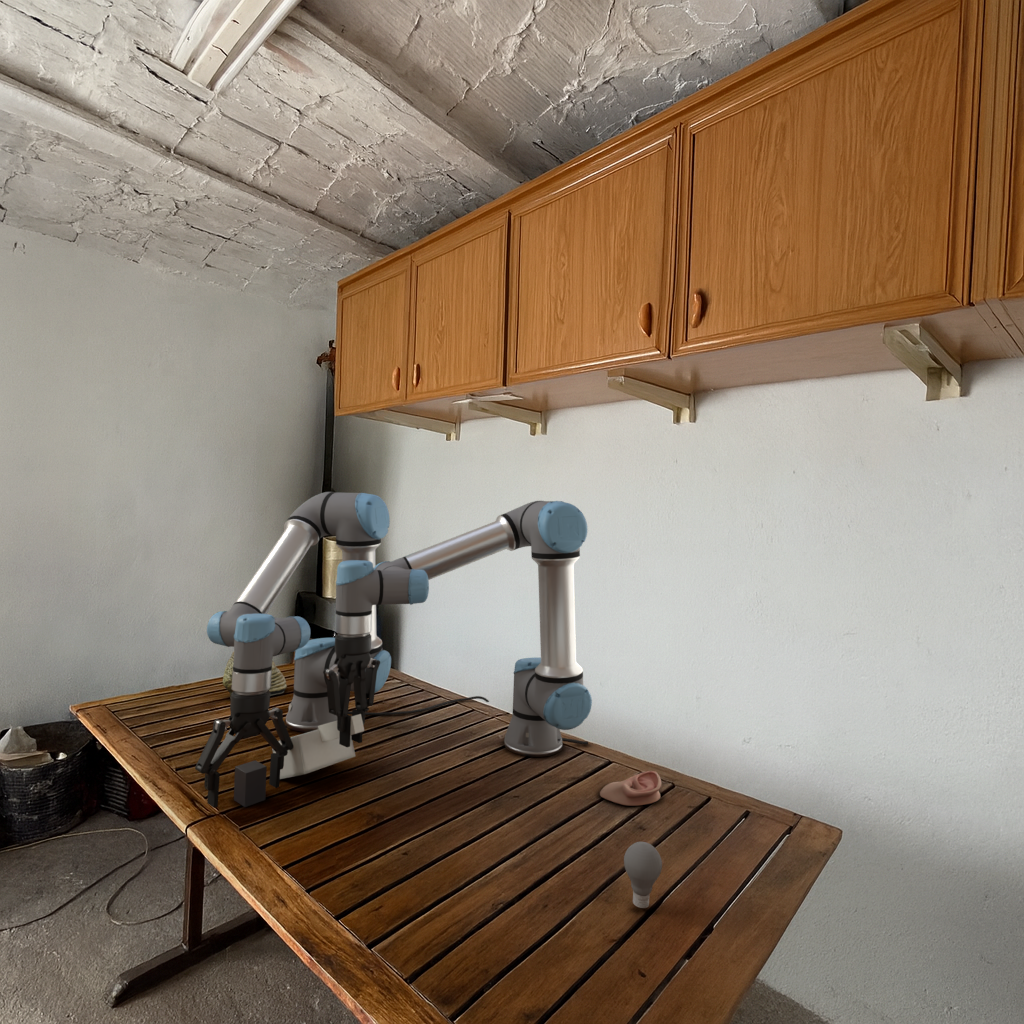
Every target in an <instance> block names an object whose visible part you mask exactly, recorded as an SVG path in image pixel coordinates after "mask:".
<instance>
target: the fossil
mask: <svg viewBox="0 0 1024 1024" xmlns="http://www.w3.org/2000/svg"><path fill="white" fill-rule="evenodd" d="M233 663H234V651H232V653H231V656H230V657H229V659H228V660H227V663H226V666H225V668H224V671H223V675H222V676H223V677H222V685H223V687H224V688H225V690H226V691H228V693H229V698H230V699H231V693H232V692H233V690H232V674H233ZM287 687H288V686H287V680H286V678H285V676H284V674H283V673H282V672H281V669H279V668H278V667H277V665H276V663H275V662H274V660H273V659H272V674H271V688H270V689H268V690H269V691H270V697H271V696H275V695H281V694H284V693H285V691H286V689H287Z"/></svg>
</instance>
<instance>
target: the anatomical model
mask: <svg viewBox="0 0 1024 1024" xmlns="http://www.w3.org/2000/svg"><path fill="white" fill-rule="evenodd" d="M661 788H662V779H661V777H660V774H658V772H657V771H655V770H647V771H642V772H640V773H637V774H634V775H633V776H630V777H628V778H626V779H624V780H621V781H613V782H609V783H607V784H606V785H605V786H603V788H602V789H601V790H600V791H599V796H600V797H601V798H603V799H604V800H607V801H610V802H613V803H615V804H617V805H618V804H619V805H622V806H643V805H650V804H653V803H655V802H658V801H659V800H660V799H661V793H660V789H661Z"/></svg>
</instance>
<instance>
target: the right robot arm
mask: <svg viewBox="0 0 1024 1024" xmlns="http://www.w3.org/2000/svg"><path fill="white" fill-rule="evenodd" d="M586 519H587V518H586V516H585V514H584V513H583V512H582V510H580V509H579V508H578V507H577V506H576V505H574V504H572V503H570V502H565V501H563V500H534V501H531V502H527V503H525V504H523V505H520V506H519V507H516V508H514V509H511V510H509V511H507V512H504V513H502V514H499V515H497V517H496V518H495V521H493V522H489V523H488V524H485V525H482V526H479V527H477V528H475V529H472V530H469V531H466V532H464V533H461V534H459V535H456V536H454V537H451V538H449V539H446V540H443V541H441V542H437V543H435V544H433V545H430V546H427V547H425V548H423V549H420V550H417V551H415V552H412V553H409V554H407V555H404V556H402V557H399V558H396V559H394V560H392V561H390V560H387V561H382V562H379V563H377V564H375V565H376V566H375V567H374V568H373V563H372V562H370V561H364V560H348V561H343V562H342V561H341V562H338V563H339V564H338V565H337V570H336V581H335V625H334V626H335V627H334V629H335V630H334V631H335V633H336V634H335V636H334V638H335V652H336V659H335V661H334V665H333V666H332V667H331V668H330V669H324V671H323V674H324V676H325V678H326V682H327V695H328V707H329V713H331V714H333V715H336V716H337V729H338V731H340V735H339V744H340V745H343V746H345V747H350V729H351V716H355V715H359V714H361V717H362V721H363V726H364V725H365V724H366V715H365V712H369V711H370V708H369V707H372V706H373V705H374V703H375V702H374V701H375V694H376V693H375V685H376V677H377V670H378V668H379V665H380V661H379V660H376V659H372V658H371V656H370V654H369V652H370V651H371V635H370V634H369V633H370V632H371V631H372V605H376V606H381V605H383V606H384V605H386V606H387V605H410V606H412V605H414V604H415V605H416V604H423V603H425V602H426V601H427V599H428V597H429V593H430V580H433V579H435V578H437V577H440V576H442V575H445V574H448V573H450V572H453V571H455V570H458V569H460V568H462V567H465V566H467V565H470V564H473V563H475V562H477V561H480V560H482V559H484V558H487V557H490V556H493V555H495V554H497V553H499V552H503V551H505V550H508V551H510V552H513V551H515V550H518V549H523V548H525V547H526V548H527V547H530V553H531V554H530V555H531V560H532V561H534V562H535V564H537V574H538V575H537V577H538V578H537V579H538V607H539V641H540V657H525V658H524V657H523V658H520V659H518V660H516V662H515V663H514V668H513V669H514V670H513V689H512V690H513V693H512V715H511V718H510V721H509V724H508V726H507V729H506V732H505V735H504V741H503V744H504V747H505V749H507V750H508V751H509V752H511V753H512V754H516V755H519V756H523V757H529V758H544V757H550V756H555V755H556V754H558V753H560V752H562V750H563V742H565V743H573V744H576V745H584V746H588V745H589V741H587V740H586V741H584V740H578V739H573V738H568V737H567V738H566V737H562V733H561V730H562V731H569V730H573V729H575V728H577V727H579V726H580V725H582V724H583V722H584V721H585V720H586V719H587V718H588V716H589V715H590V713H591V710H592V705H593V699H592V695H591V692H590V690H589V689H588V687H586V685H584V669H583V667H582V666H581V665H580V664H579V663H578V662H577V639H576V637H577V636H576V602H575V601H576V599H575V596H576V595H575V569H574V568H575V564H576V562H577V561H578V560H579V559H580V558H581V547H582V546H583V543H585V541H586V539H587V537H588V531H589V530H588V529H589V528H588V522H587V520H586ZM365 669H366V672H365ZM337 671H338V672H339V682H340V684H338V678H337V677H338V673H337ZM352 683H353V684H354V692H353V694H354V709H352V710H351V712H352V714H348V711H349V707H350V699H351V692H352V691H351V684H352ZM351 736H352V738H351V740H352V741H354V742H355V743H358V744H362V743H363V732H360V733H357V734H353V735H351Z"/></svg>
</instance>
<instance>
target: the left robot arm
mask: <svg viewBox="0 0 1024 1024" xmlns="http://www.w3.org/2000/svg"><path fill="white" fill-rule="evenodd" d="M390 522H391V521H390V513H389V509H388V506H387V504H386V502H385V500H384V499H383V498H382V497H381V496H379V495H377V494H372V493H366V492H336V491H325V492H322V493H318V494H316V495H314V496H312V497H310V498H309V499H307V500H306V501H304V502H303V503H302V504H301V505H299V506H298V507H297V508H296V509H295V510H294V511H293V512H292V513H291V514H290V516H289V517H288V518H287V520H286V521H285V522H284V524H283V530H284V531H283V532H282V533H281V535H280V537H279V538H278V539H277V541H276V542H275V544H274V545H273V546H272V548H271V550H270V551H269V552H268V554H267V555H266V557H265V558H264V560H263V561H262V562H261V564H260V565H259V567H258V568H257V570H256V571H255V573H253V575H252V577H251V578H250V579H249V581H248V582H247V584H246V585H245V587H244V589H243V590H242V591H241V593H240V594H239V595H238V597H237V599H236V600H235V601H234V603H233V604H232V605H231V607H230V609H229V610H228V611H227V610H224V611H217V612H216V613H214V614H213V615H212V616H210V618H209V620H208V623H207V625H206V634H207V637H208V639H209V641H210V642H212V643H213V644H215V645H219V646H224V647H226V648H227V647H228V648H231V647H233V652H234V663H233V674H232V690H233V692H232V693H231V698H230V704H229V707H230V708H229V710H230V715H229V717H228V719H223V720H221V719H219V718H216V719H215V720H214V721H213V725H212V731H211V733H210V735H209V738H208V740H207V741H206V744H205V745H204V747H203V749H202V751H201V754H200V756H199V758H198V760H197V762H196V764H195V767H194V769H195V770H196V771H197V772H199V773H200V774H201V775H204V783H203V787H204V789H205V790H207V805H209V806H211V808H214V809H215V808H217V807H219V793H220V792H219V790H220V776H221V773H220V772H218V770H219V768H220V767H221V766H222V764H223V763H224V761H225V760H226V758H227V757H228V756H229V754H230V752H231V751H232V750H233V748H234V747H235V746H236V745H237V744H239V743H240V741H241V740H242V739H248V738H250V737H256V736H259V735H260V736H261V737H262V738H263V740H264V741H266V743H267V744H268V745H269V746H270V747H271V749H272V748H273V750H274V751H275V752H276V753H273V752H272V753H270V765H269V766H270V767H269V782H268V784H269V785H270V786H272V787H273V788H275V789H277V788H280V781H281V779H280V770H281V769H283V767H284V756H286V755H287V754H288V750H292V749H293V743H292V741H291V736H290V734H289V731H288V729H289V730H291V731H294V732H295V731H296V732H301V733H307V732H311V731H314V730H318V726H320V725H323V724H327V723H330V722H334V721H337V716H336V715H333V714H331V713H329V707H328V695H327V682H326V678H325V676H324V674H323V671H324V669H330V668H331V667H332V666H333V665H334V661H335V659H336V652H335V637H320V638H319V637H318V638H313V639H311V627H310V625H309V623H308V621H307V620H306V619H305V618H304V617H301V616H298V615H297V616H295V615H294V616H290V615H289V616H286V617H275V616H273V615H272V614H269V611H270V609H271V608H272V607H273V605H274V604H275V602H276V600H278V597H279V596H280V594H281V592H283V589H284V588H285V586H286V585H287V583H288V582H289V580H290V579H291V577H292V575H293V574H294V572H295V571H296V570H297V568H298V566H299V565H300V563H301V561H302V560H303V558H304V557H305V556H306V554H307V552H308V551H309V549H310V548H311V547H313V546H316V545H317V544H318V543H319V542H320V540H321V539H322V538H323V537H326V536H333V537H335V545H336V547H337V548H339V550H341V562H343V561H348V560H364V561H370V562H372V563H373V568H374V567H375V566H376V565H377V564H376V550H377V549H378V548H379V547H380V546H381V544H382V539H384V538H385V537H386V536H387V534H388V532H389V528H390ZM369 634H370V635H371V651H370V652H369V654H370V656H371V658H372V659H376V660H379V661H380V665H379V668H378V670H377V677H376V685H375V694H376V693H378V692H379V691H380V690H381V689H382V688H383V687H384V685H385V684H386V682H387V680H388V678H389V676H390V672H391V666H392V656H391V654H390V652H389V651H387V650H385V649H383V640H382V639H381V638H380V637H379V636H378V635H377V605H372V631H371V632H370V633H369ZM293 652H294V653H295V654H294V659H293V660H294V672H293V695H292V696H293V697H292V699H291V702H289V705H288V711H287V713H286V715H285V721H284V713H283V711H284V710H283V709H281V708H278V707H276V706H273V707H272V708H271V710H269V708H270V705H271V704H270V703H271V696H270V691H269V690H268V689H270V688H271V674H272V660H273V657H276V656H281V655H284V654H288V653H293ZM365 672H366V669H365ZM337 673H338V677H337V678H338V684H340V682H339V672H338V671H337ZM350 692H351V693H354V684H353V683H352V684H351V691H350ZM477 699H478V700H483V701H484V702H486V703H490V700H489V699H487V698H486V697H484V696H481V695H476V696H470V697H463V698H462V697H461V698H456V699H452V700H447V701H444V702H441V703H437V704H434V705H430V706H428V707H424V708H419V709H413V710H404V711H389V712H370V711H367V712H365V716H394V715H396V716H397V715H408V714H415V713H420V712H426V711H430V710H433V709H435V708H440V707H442V706H446V705H450V704H453V703H457V702H458V703H459V702H465V701H471V700H477ZM347 715H352V711H349V710H348V714H347ZM269 720H271V722H272V723H273V727H274V729H275V731H276V734H277V737H278V738H279V740H278V739H277V738H276V736H275V735H274V734H273V733H272V732H271V729H270V728H269V727H268V726H267V722H268V721H269ZM228 728H229V730H228ZM225 732H227V733H226V734H225ZM224 736H225V738H224ZM223 738H224V739H223ZM222 740H223V741H222ZM278 741H281V743H282V745H281V744H280V743H279V742H278ZM273 750H272V751H273Z"/></svg>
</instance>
